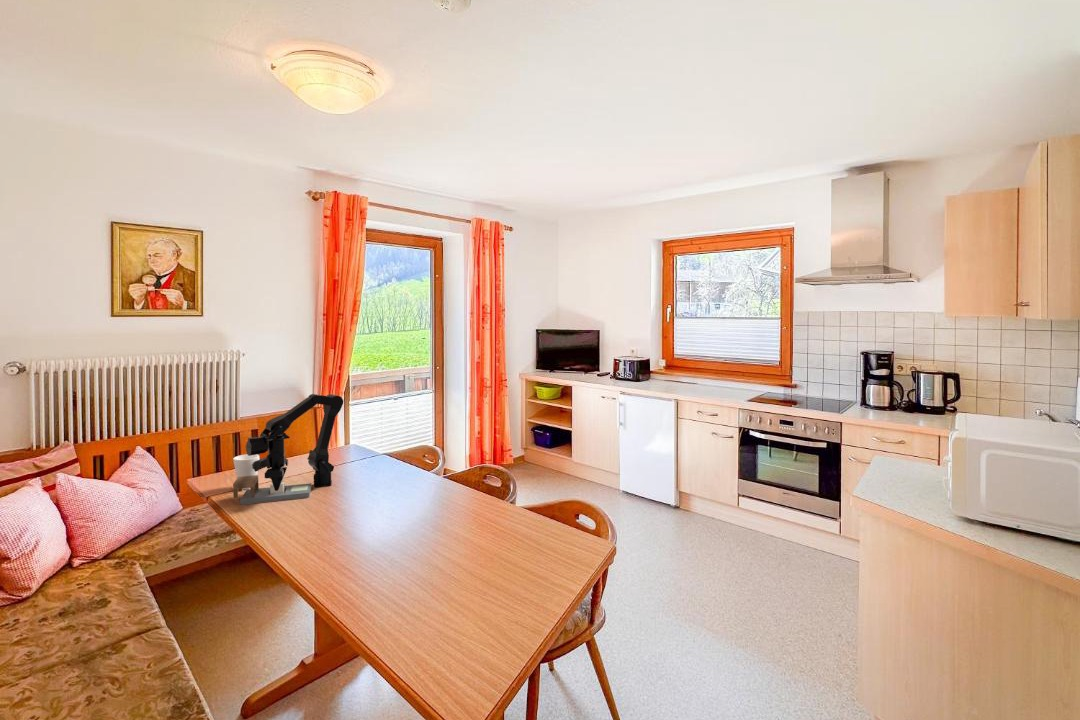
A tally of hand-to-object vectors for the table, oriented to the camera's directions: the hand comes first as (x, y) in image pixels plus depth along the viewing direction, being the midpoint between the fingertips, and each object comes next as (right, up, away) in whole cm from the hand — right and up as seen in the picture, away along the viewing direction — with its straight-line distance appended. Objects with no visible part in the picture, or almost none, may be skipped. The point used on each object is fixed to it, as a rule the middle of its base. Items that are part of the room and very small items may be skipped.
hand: (277, 488), depth 197 cm
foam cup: (-18, -2, +10) cm, 21 cm away
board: (0, -3, 0) cm, 3 cm away
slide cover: (-10, -1, -4) cm, 11 cm away
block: (0, -3, 0) cm, 3 cm away
